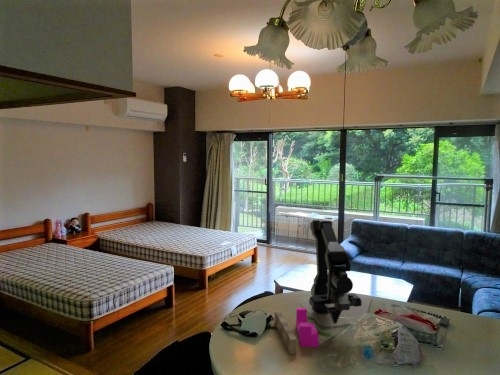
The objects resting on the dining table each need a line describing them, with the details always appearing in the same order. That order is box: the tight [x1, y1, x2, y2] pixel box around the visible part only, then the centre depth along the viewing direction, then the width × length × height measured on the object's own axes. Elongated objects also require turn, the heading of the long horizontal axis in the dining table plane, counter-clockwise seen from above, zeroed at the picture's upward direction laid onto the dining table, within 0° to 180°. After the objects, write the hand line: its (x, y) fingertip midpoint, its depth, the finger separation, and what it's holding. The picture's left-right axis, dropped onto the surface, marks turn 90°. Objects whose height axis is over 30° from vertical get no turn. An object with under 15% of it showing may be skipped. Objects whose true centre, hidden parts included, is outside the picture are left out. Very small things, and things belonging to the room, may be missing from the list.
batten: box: [274, 310, 298, 355], centre depth 123 cm, size 22×2×5 cm, turn 10°
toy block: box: [295, 307, 320, 348], centre depth 125 cm, size 15×6×8 cm, turn 178°
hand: (334, 323), depth 127 cm, fingers closed
